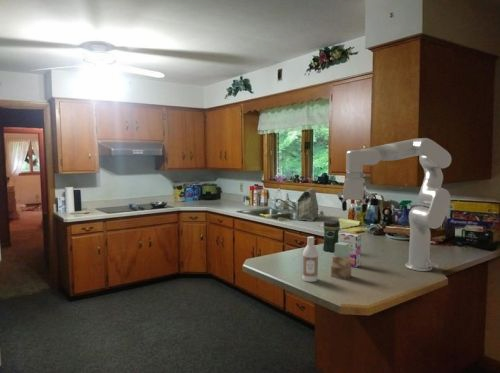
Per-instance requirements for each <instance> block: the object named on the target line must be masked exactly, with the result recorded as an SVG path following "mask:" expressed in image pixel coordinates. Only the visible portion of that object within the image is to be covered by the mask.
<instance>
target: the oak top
mask: <svg viewBox="0 0 500 373" xmlns="http://www.w3.org/2000/svg"><path fill="white" fill-rule="evenodd" d="M331 266H332V267H336V268H341V269H346V268H347V267H349V266H350V256H348V257H346V258H341V257H336V256H335V255H333V256H332V265H331Z"/></svg>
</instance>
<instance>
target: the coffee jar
mask: <svg viewBox="0 0 500 373" xmlns="http://www.w3.org/2000/svg"><path fill="white" fill-rule="evenodd" d="M340 223H341V222H340V220H335V219H326V220H324V221H323V226H322V227H323V231H324V232H323V235H324V236H323V244H322V245H323V246H322V249H323V251H324V252H329V253H331V252H332V253H335V243H338V233H340V232H339V231H340V228H341V226H340Z"/></svg>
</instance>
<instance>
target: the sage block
mask: <svg viewBox="0 0 500 373" xmlns="http://www.w3.org/2000/svg"><path fill="white" fill-rule="evenodd" d="M334 256H336V257H341V258H346V257H348V256H349V243H344V242H338V243H335V252H334Z"/></svg>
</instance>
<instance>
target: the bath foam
mask: <svg viewBox="0 0 500 373" xmlns="http://www.w3.org/2000/svg"><path fill="white" fill-rule="evenodd" d="M318 265H319V251H318V250H317V248H316V246H315V236H307V244H306V246H305V248H304V249H303V252H302V271H301V272H302V273H301V274H302V281H304V282H309V283H314V282H317V281H318V273H319V272H318V271H319V270H318V268H319V267H318Z"/></svg>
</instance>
